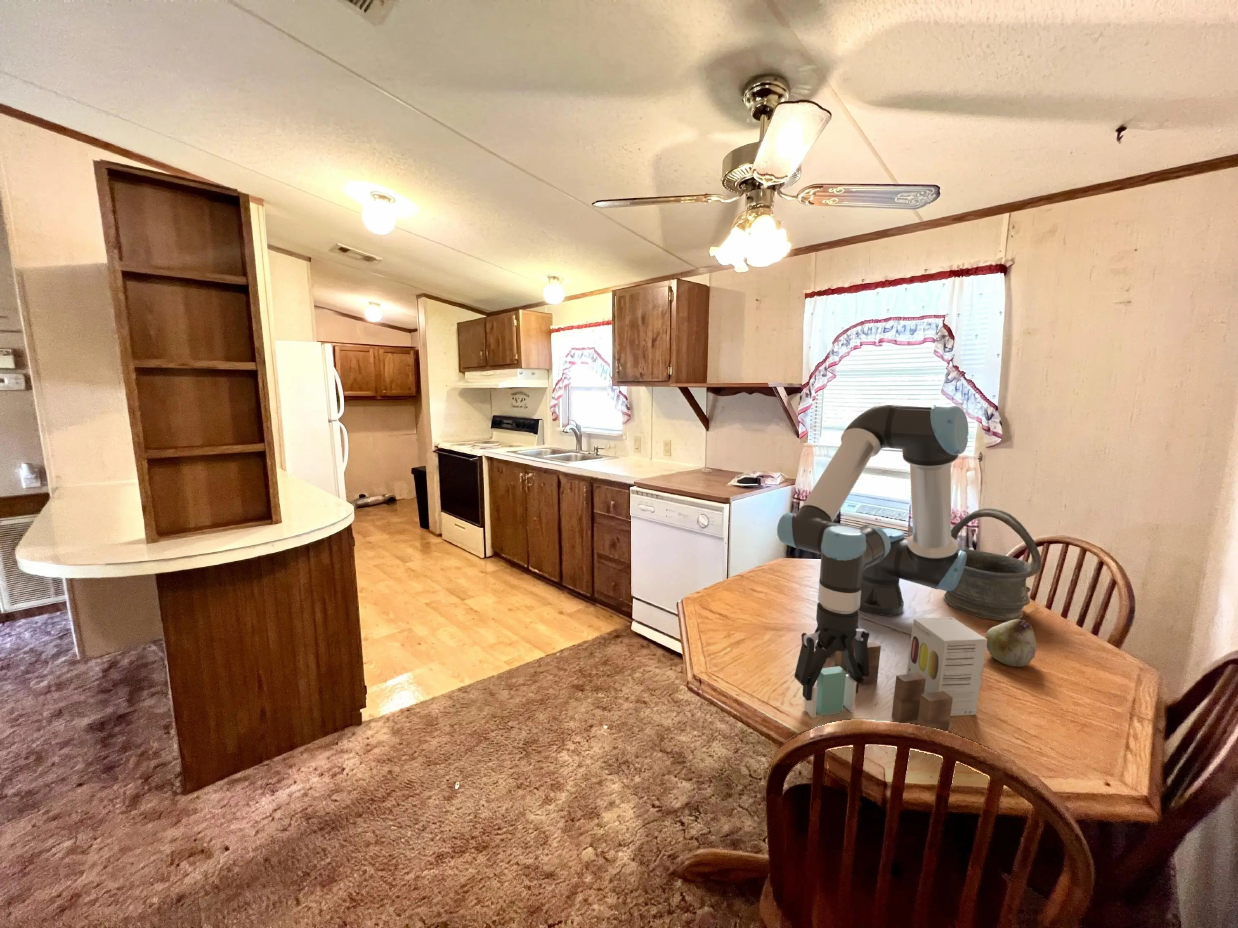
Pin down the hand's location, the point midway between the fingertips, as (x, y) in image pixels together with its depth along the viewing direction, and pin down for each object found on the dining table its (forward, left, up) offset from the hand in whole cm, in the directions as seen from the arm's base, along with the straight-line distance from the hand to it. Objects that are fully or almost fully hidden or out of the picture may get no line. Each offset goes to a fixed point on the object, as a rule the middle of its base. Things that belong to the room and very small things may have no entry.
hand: (828, 709), depth 97 cm
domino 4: (-14, +11, 0) cm, 18 cm away
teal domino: (0, 0, 0) cm, 0 cm away
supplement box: (-25, +2, 0) cm, 25 cm away
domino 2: (-14, -7, 0) cm, 16 cm away
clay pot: (-75, -33, 0) cm, 82 cm away
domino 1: (-14, -13, 0) cm, 19 cm away
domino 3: (-14, +5, 0) cm, 15 cm away
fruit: (-54, -7, 0) cm, 54 cm away
